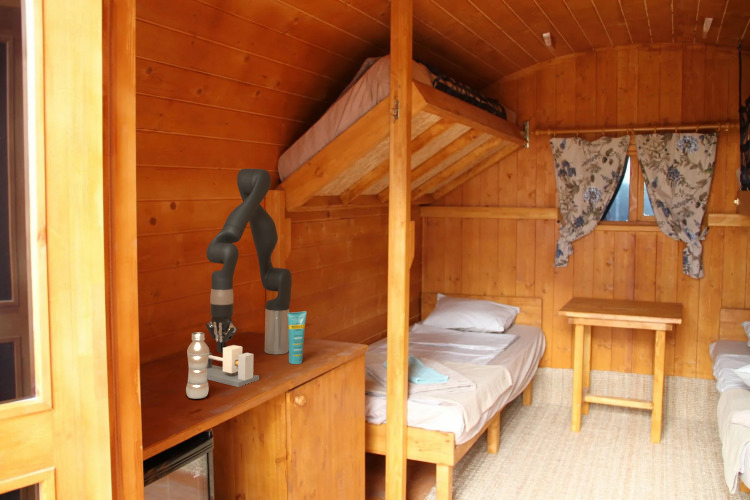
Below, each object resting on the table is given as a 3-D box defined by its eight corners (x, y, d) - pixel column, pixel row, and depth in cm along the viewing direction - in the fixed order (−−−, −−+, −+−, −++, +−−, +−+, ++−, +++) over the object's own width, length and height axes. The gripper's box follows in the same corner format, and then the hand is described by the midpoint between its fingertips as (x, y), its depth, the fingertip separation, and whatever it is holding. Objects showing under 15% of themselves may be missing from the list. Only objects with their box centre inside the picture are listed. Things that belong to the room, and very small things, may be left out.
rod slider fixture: (211, 368, 236) (212, 342, 235) (259, 380, 224) (259, 352, 223) (190, 375, 227) (190, 347, 226) (238, 387, 216) (238, 358, 215)
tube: (289, 365, 244) (290, 313, 242) (283, 362, 248) (285, 311, 246) (307, 363, 248) (309, 312, 246) (301, 360, 252) (303, 309, 250)
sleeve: (233, 368, 227) (233, 345, 226) (242, 370, 225) (242, 346, 224) (222, 371, 222) (223, 347, 222) (231, 373, 220) (231, 349, 220)
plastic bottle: (188, 394, 207) (188, 331, 205) (210, 394, 207) (211, 331, 205) (184, 401, 200) (184, 335, 198) (206, 401, 201) (207, 336, 199)
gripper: (244, 302, 224) (243, 353, 226) (215, 298, 231) (214, 347, 232) (228, 305, 218) (228, 357, 219) (199, 300, 224) (199, 351, 226)
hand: (221, 352), depth 226 cm, fingers closed
